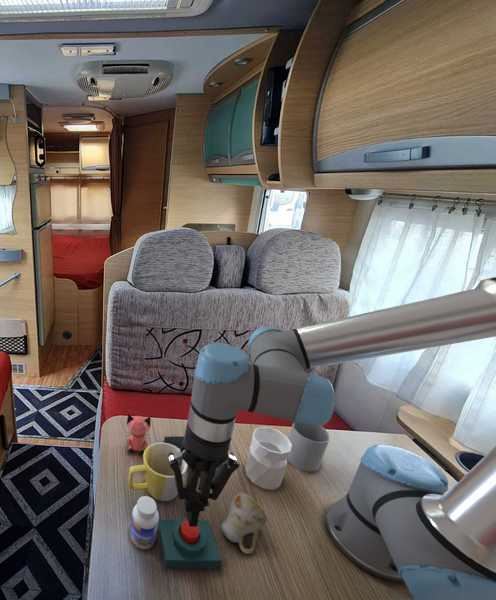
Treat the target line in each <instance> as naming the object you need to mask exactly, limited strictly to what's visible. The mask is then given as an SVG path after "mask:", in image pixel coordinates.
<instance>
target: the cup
mask: <svg viewBox="0 0 496 600" xmlns="http://www.w3.org/2000/svg"><path fill="white" fill-rule="evenodd" d="M288 439H289V441H290V442H291V444H292V447H291V452H290V456H289V457H288V458H287V462H289V463H290V464H291V465H292V466H293V467H294V468H297V469H299V470H302V471H305V472H309V473H310V472H311V473H312V472H317V471H318V470H319V468H320V467H321V465H322V461H323V459H324V455H325V453H326V450H327V448H328V444H329V442H330V439H331V438H330V433H329V432H328V431H327V430H326V428H324V426H323V425H321V426H318V425H312V424H305V423H294V422H293V423H292V425H291V428H290V432H289V435H288Z"/></svg>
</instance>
